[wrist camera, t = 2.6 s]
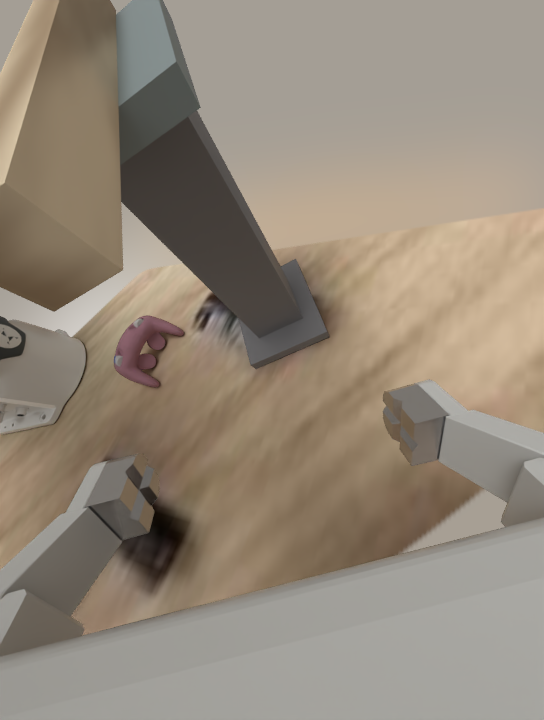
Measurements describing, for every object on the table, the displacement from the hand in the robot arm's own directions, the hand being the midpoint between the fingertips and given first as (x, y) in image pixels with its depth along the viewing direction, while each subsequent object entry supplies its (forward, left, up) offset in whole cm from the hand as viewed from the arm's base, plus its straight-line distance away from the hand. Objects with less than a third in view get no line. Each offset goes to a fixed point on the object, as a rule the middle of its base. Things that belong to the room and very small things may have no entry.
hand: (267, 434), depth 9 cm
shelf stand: (-2, +19, -21) cm, 28 cm away
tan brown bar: (-2, +15, +5) cm, 16 cm away
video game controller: (-21, +22, -21) cm, 37 cm away
